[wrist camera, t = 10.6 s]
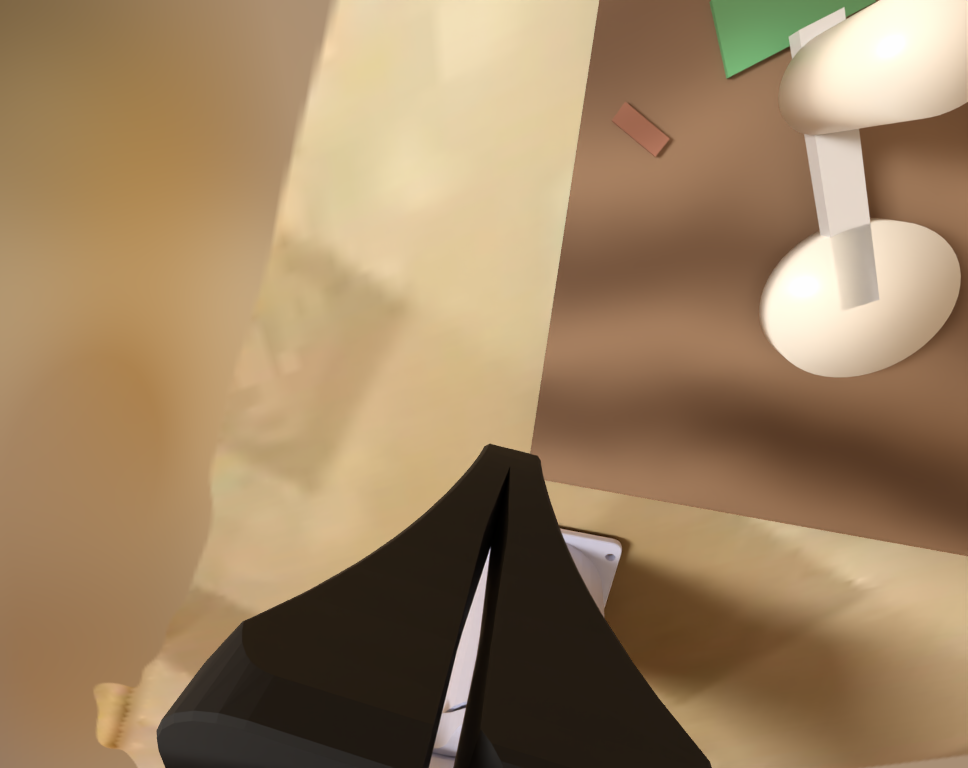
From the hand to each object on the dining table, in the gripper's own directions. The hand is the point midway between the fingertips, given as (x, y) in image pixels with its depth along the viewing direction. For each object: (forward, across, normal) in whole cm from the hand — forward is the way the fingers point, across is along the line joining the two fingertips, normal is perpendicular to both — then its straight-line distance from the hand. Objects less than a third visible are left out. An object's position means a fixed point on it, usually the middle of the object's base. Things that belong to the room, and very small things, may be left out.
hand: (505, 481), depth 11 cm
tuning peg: (+8, -8, -7) cm, 13 cm away
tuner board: (+9, -10, -5) cm, 14 cm away
